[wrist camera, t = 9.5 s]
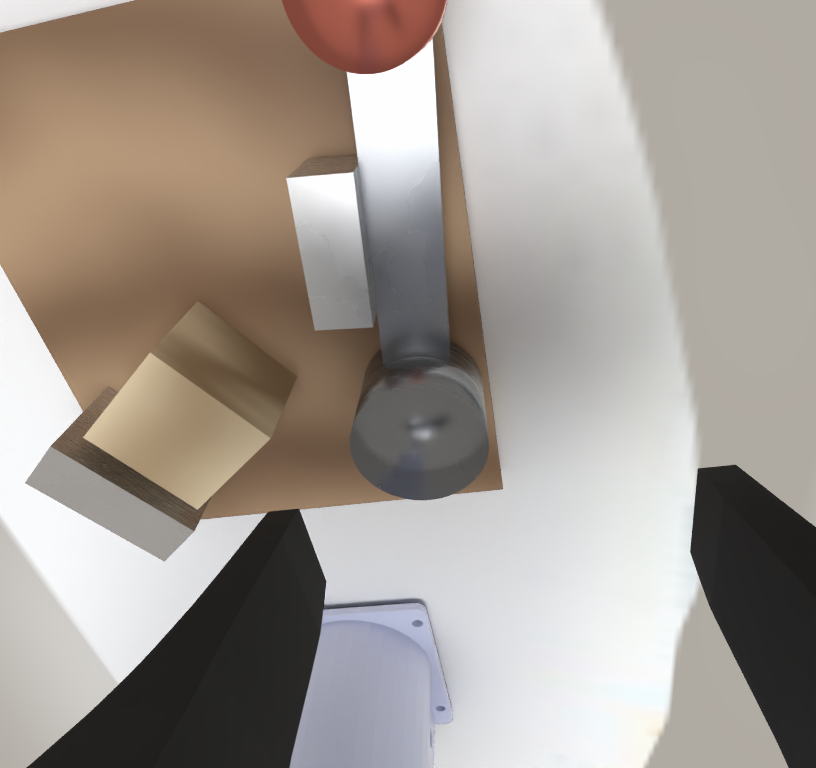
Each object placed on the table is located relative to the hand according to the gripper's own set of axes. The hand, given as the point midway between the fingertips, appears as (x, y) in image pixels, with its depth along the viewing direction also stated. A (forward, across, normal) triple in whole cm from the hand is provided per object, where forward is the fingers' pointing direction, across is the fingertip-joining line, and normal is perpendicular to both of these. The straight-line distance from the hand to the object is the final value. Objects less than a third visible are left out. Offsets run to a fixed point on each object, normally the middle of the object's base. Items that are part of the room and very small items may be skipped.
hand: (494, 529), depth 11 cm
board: (+10, +7, -2) cm, 12 cm away
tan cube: (+9, +9, +1) cm, 13 cm away
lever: (+9, +2, -3) cm, 9 cm away
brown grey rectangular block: (+10, +12, +3) cm, 16 cm away
